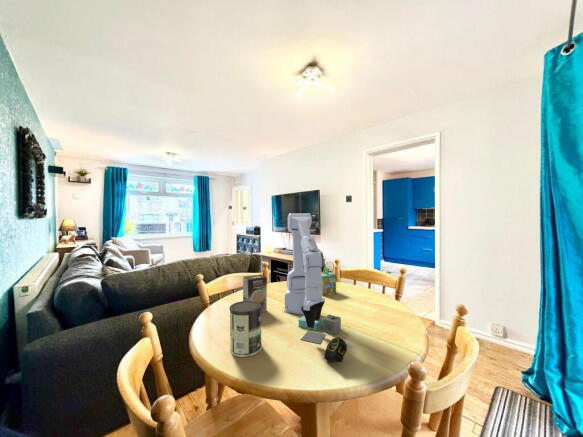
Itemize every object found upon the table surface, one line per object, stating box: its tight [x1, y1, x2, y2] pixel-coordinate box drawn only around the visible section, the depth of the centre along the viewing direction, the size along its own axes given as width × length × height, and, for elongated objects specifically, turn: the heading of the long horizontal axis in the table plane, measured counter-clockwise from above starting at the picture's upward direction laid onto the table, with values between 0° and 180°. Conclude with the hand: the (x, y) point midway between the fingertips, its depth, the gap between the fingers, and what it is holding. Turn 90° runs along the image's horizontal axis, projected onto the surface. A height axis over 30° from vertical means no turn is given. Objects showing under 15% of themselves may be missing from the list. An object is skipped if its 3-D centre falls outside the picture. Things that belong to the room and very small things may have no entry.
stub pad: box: [300, 330, 327, 345], centre depth 87 cm, size 7×7×1 cm
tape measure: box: [323, 336, 348, 363], centre depth 73 cm, size 7×7×4 cm
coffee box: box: [242, 274, 268, 313], centre depth 111 cm, size 9×6×16 cm
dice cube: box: [322, 314, 342, 336], centre depth 92 cm, size 5×5×5 cm
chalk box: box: [321, 266, 337, 297], centre depth 134 cm, size 9×9×15 cm
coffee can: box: [228, 300, 263, 358], centre depth 80 cm, size 10×10×14 cm
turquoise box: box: [298, 315, 323, 332], centre depth 95 cm, size 8×4×3 cm, turn 66°
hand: (313, 323), depth 87 cm, fingers open, 6 cm apart
